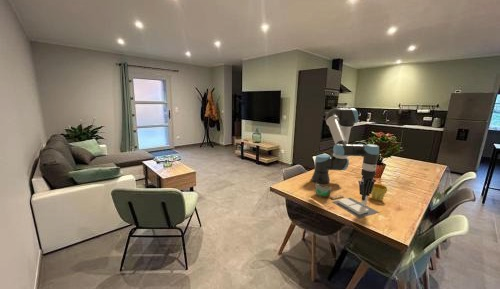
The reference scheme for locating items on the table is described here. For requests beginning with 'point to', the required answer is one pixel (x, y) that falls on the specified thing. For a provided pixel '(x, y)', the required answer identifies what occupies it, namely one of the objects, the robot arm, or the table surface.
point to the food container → (323, 191)
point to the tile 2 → (358, 209)
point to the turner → (337, 197)
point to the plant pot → (378, 192)
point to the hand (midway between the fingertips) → (363, 204)
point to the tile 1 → (346, 202)
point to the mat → (370, 212)
